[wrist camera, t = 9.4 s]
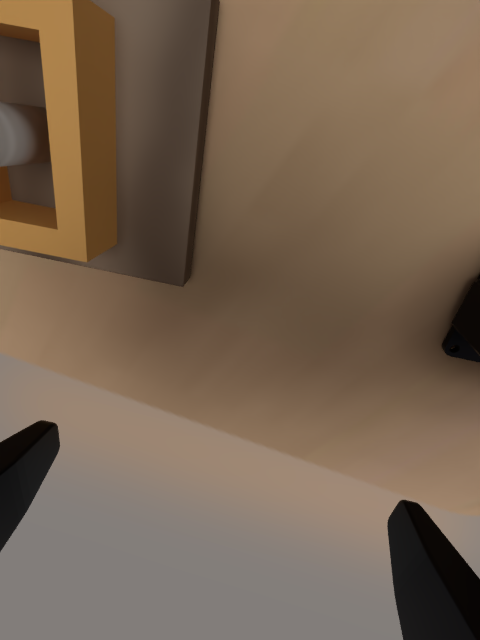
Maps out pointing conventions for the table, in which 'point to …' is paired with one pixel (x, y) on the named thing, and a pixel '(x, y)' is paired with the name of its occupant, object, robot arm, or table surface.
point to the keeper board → (128, 132)
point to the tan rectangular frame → (69, 130)
